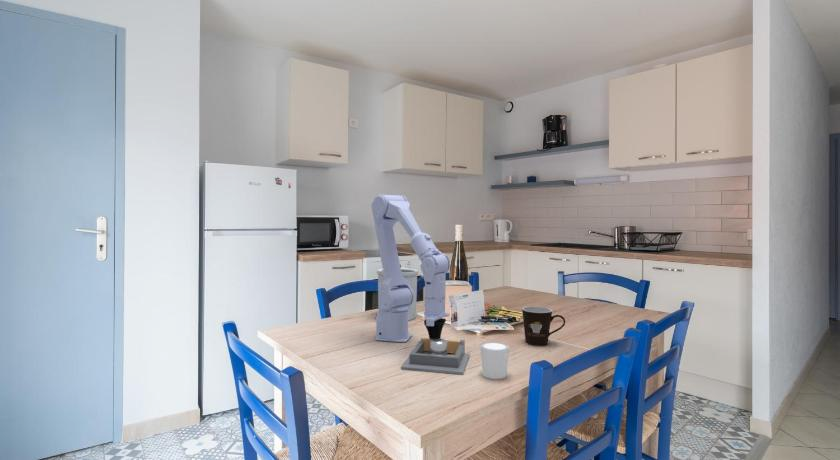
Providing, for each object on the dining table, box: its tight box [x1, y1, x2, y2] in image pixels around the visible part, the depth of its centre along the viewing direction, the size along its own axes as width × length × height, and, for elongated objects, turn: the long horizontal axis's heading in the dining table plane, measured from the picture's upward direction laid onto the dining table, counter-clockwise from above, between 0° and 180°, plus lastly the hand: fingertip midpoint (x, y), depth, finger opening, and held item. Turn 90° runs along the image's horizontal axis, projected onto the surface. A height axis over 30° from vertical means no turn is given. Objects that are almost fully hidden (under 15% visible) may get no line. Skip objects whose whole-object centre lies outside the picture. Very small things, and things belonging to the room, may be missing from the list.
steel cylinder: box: [429, 338, 448, 356], centre depth 115 cm, size 4×4×5 cm
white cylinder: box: [480, 341, 510, 380], centre depth 104 cm, size 7×7×7 cm
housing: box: [400, 340, 471, 375], centre depth 113 cm, size 15×14×3 cm
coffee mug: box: [521, 305, 566, 347], centre depth 129 cm, size 12×9×10 cm
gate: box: [420, 337, 466, 355], centre depth 120 cm, size 12×1×4 cm, turn 77°
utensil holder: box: [376, 267, 419, 321], centre depth 160 cm, size 15×15×18 cm
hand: (434, 345), depth 122 cm, fingers closed
